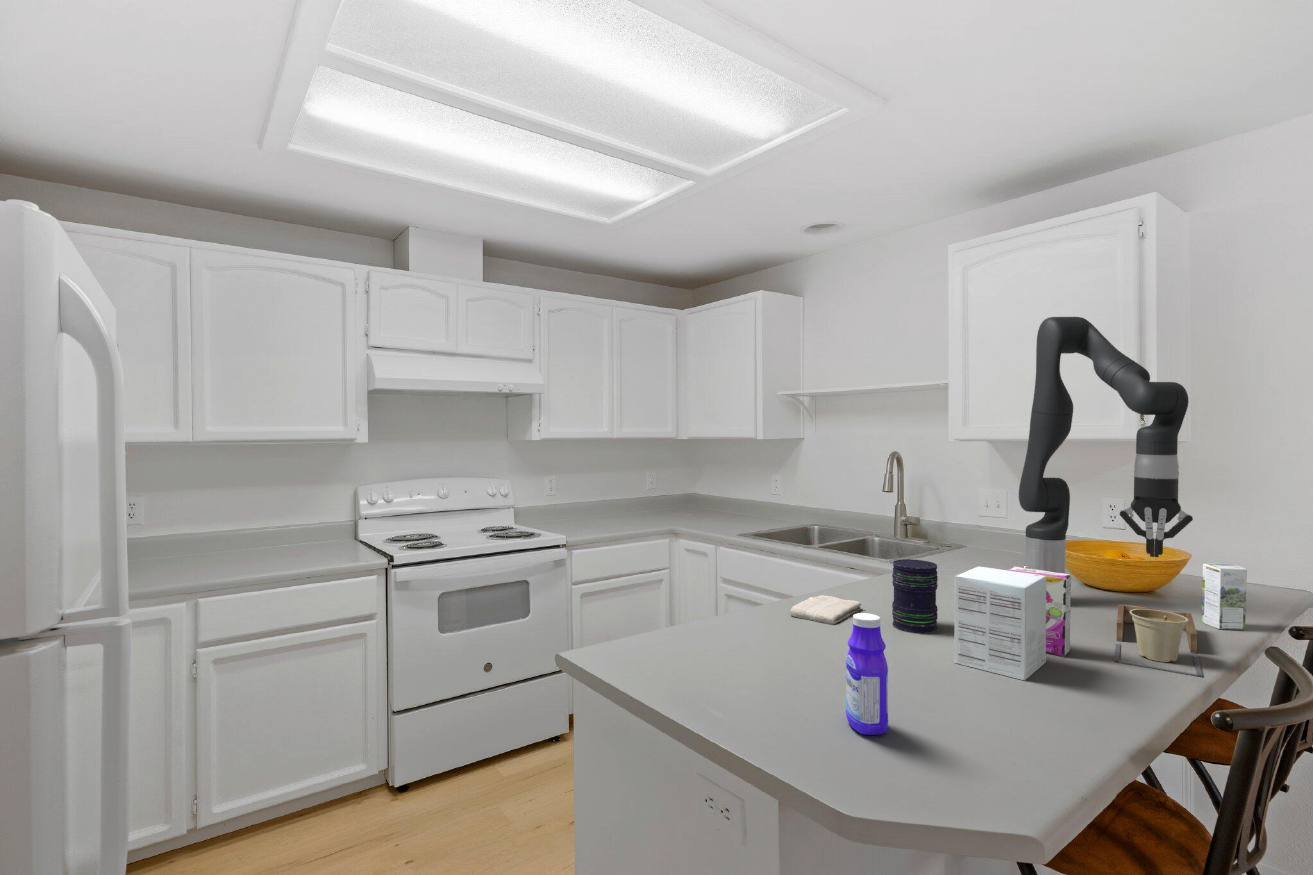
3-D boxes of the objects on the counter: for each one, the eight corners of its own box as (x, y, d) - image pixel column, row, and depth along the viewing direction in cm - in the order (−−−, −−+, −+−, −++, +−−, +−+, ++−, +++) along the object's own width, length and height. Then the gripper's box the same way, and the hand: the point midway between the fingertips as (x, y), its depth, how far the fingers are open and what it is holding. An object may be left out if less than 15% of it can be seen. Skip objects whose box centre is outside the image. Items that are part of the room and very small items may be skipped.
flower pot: (1170, 650, 135) (1170, 609, 135) (1198, 667, 126) (1199, 623, 126) (1120, 648, 137) (1120, 607, 137) (1144, 664, 128) (1144, 620, 128)
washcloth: (863, 610, 167) (863, 599, 167) (834, 627, 153) (835, 614, 153) (819, 603, 175) (819, 591, 175) (789, 618, 161) (789, 606, 160)
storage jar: (891, 630, 149) (891, 566, 149) (892, 619, 158) (892, 558, 158) (938, 635, 146) (938, 569, 145) (937, 623, 155) (937, 561, 154)
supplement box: (976, 647, 138) (977, 565, 138) (1046, 663, 129) (1047, 575, 128) (952, 663, 129) (952, 575, 129) (1025, 681, 119) (1026, 587, 119)
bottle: (840, 717, 105) (840, 610, 105) (874, 716, 105) (874, 609, 105) (857, 738, 98) (858, 623, 97) (894, 737, 98) (894, 622, 98)
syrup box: (1226, 623, 154) (1227, 562, 154) (1246, 630, 149) (1247, 567, 148) (1200, 622, 155) (1201, 562, 155) (1219, 630, 149) (1220, 567, 149)
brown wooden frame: (1116, 640, 142) (1116, 622, 142) (1118, 620, 157) (1118, 603, 157) (1196, 653, 134) (1197, 634, 134) (1191, 630, 149) (1191, 613, 149)
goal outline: (1114, 661, 129) (1114, 660, 129) (1115, 644, 140) (1115, 643, 140) (1203, 677, 121) (1203, 676, 121) (1198, 657, 131) (1198, 656, 131)
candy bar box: (1005, 645, 139) (1005, 569, 139) (1011, 640, 143) (1012, 565, 142) (1065, 658, 131) (1066, 577, 131) (1071, 651, 135) (1071, 573, 135)
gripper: (1117, 475, 139) (1115, 555, 140) (1197, 478, 131) (1195, 563, 132) (1118, 473, 145) (1117, 550, 146) (1195, 476, 137) (1193, 557, 138)
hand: (1154, 556), depth 139 cm, fingers closed
